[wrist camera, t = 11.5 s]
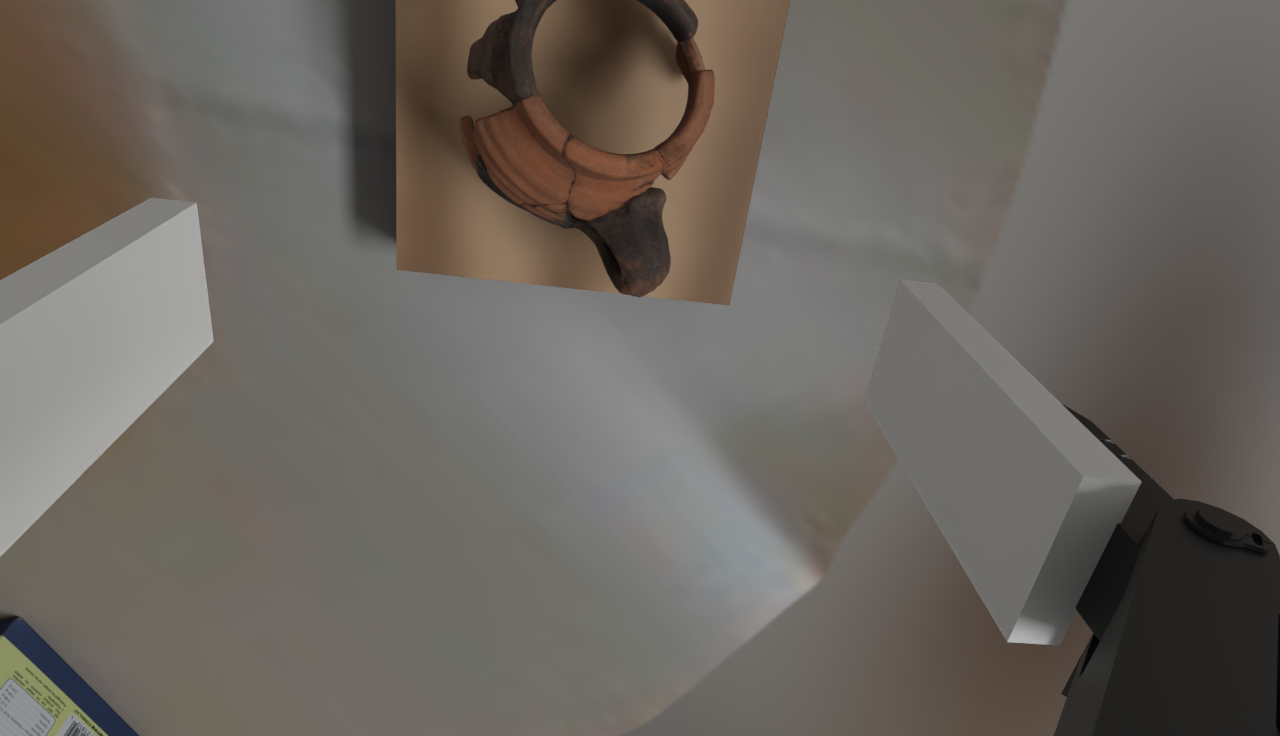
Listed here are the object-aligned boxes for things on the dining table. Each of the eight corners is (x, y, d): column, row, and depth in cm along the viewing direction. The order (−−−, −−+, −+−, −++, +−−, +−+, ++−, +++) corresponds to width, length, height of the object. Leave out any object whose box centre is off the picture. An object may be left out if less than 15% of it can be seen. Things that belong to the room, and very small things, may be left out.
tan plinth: (410, 247, 38) (396, 269, 35) (412, -119, 31) (395, -126, 29) (720, 281, 39) (729, 305, 37) (785, -61, 33) (802, -62, 30)
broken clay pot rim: (404, 71, 32) (424, -16, 24) (603, -9, 35) (678, -110, 27) (543, 338, 34) (601, 336, 27) (720, 242, 37) (819, 215, 29)
